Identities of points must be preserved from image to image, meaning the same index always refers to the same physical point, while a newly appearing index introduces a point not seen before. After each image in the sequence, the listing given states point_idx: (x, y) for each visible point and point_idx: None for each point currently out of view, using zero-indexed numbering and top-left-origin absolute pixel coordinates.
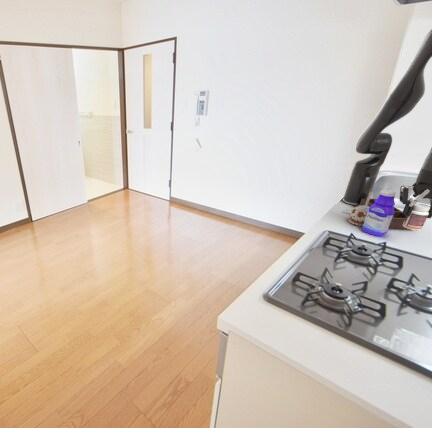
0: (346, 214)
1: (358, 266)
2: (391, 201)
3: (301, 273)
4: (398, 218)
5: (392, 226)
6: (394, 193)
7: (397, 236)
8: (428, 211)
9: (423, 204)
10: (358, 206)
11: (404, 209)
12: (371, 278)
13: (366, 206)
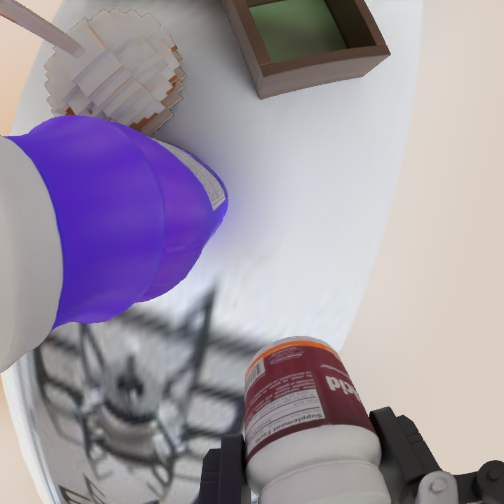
0: (102, 7)
1: (135, 467)
2: (89, 311)
3: (64, 488)
4: (301, 66)
5: (277, 90)
6: (8, 359)
7: (285, 186)
8: (385, 461)
9: (364, 499)
10: (55, 51)
11: (204, 486)
12: (164, 494)
13: (80, 52)
